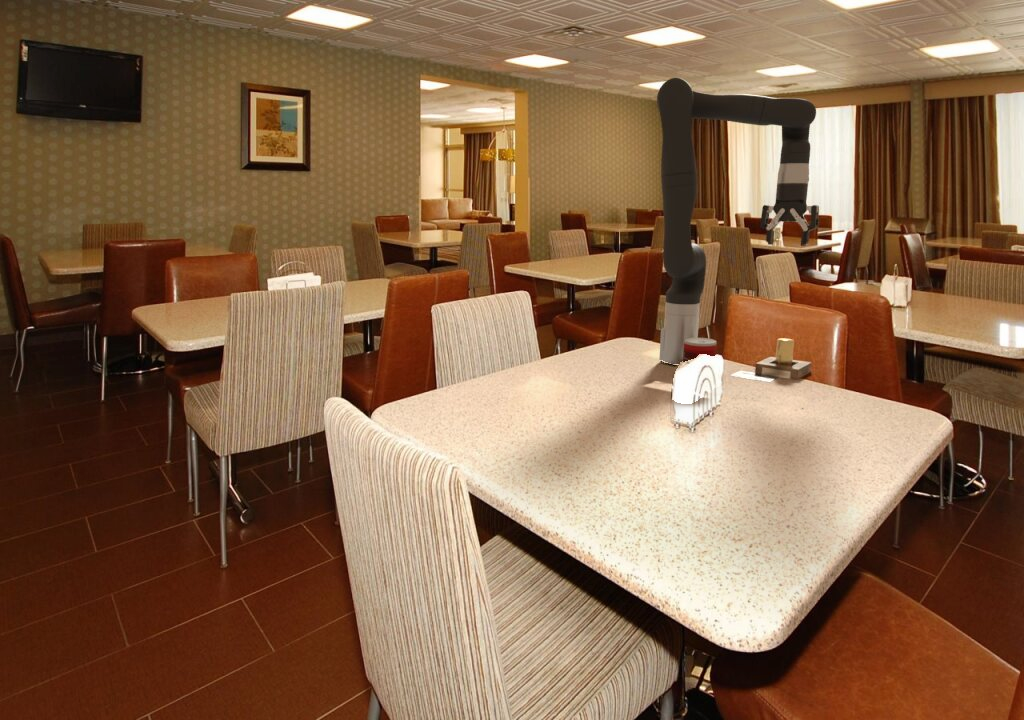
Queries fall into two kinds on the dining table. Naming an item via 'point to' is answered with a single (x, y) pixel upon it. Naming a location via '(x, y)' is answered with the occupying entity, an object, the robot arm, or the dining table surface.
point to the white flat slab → (754, 376)
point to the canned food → (698, 347)
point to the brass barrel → (784, 352)
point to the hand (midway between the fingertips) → (786, 245)
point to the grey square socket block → (783, 368)
